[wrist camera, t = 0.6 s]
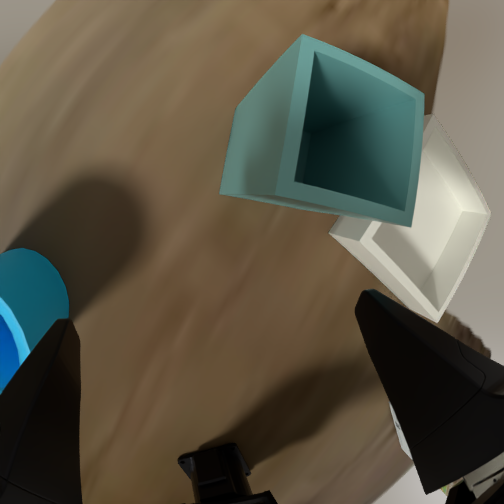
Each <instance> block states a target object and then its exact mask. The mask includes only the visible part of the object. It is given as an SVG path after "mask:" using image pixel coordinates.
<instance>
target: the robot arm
mask: <svg viewBox="0 0 504 504" xmlns="http://www.w3.org/2000/svg"><path fill="white" fill-rule="evenodd" d="M355 316H356V319H357V321H358V324H359V327H360V330H361V333H362V336H363V339H364V342H365V344H366V347H367V350H368V353H369V355H370V357H371V360H372V362H373V364H374V366H375V368H376V371H377V373H378V375H379V378H380V380H381V382H382V384H383V387H384V389H385V391H386V394H387V396H388V398H389V401H390V403H391V405H392V408H393V410H394V413H395V415H396V418H397V420H398V422H399V425H400V427H401V430H402V432H403V435H404V437H405V440H406V443H407V445H408V448H409V449H410V450H409V451H410V453H411V456H412V459H413V461H414V464H415V466H416V470H417V472H418V475H419V478H420V481H421V483H422V486H423V489H424V492H425V494H426V495H427V494H429V493H432V492H434V491H436V490H438V489H440V488H442V487H444V486H446V485H448V484H450V483H452V482H454V481H456V480H458V479H460V478H463V479H462V480H461V481H459V482H458V483H457V484H456V485H454V486H453V487H452V488H450V489H449V493H448V496H447V500H446V503H445V504H504V366H503V365H501V364H499V363H497V362H495V361H493V360H491V359H490V358H488V357H486V356H484V355H482V354H480V353H479V352H477V351H475V350H473V349H472V348H470V347H468V346H467V345H465V344H464V343H462V342H460V341H459V340H456V339H455V338H454V337H452V336H451V335H449V334H448V333H446V332H444V331H443V330H441V329H440V328H438V327H436V326H435V325H433V324H432V323H430V322H428V321H427V320H425V319H423V318H422V317H420V316H419V315H417V314H415V313H414V312H412V311H410V310H409V309H407V308H405V307H404V306H402V305H400V304H399V303H397V302H395V301H394V300H392V299H390V298H389V297H387V296H385V295H384V294H382V293H380V292H379V291H377V290H375V289H368V290H363V291H362V292H361V294H360V297H359V299H358V302H357V304H356V307H355ZM80 400H81V374H80V339H79V336H78V334H77V331H76V329H75V327H74V325H73V322H72V320H71V319H69V318H60V319H57V320H56V321H55V322H54V323H53V325H52V326H51V327H50V328H49V330H48V331H47V332H46V333H45V334H44V336H43V337H42V338H41V339H40V341H39V342H38V343H37V345H36V346H35V347H34V348H33V350H32V351H31V352H30V354H29V355H28V356H27V358H26V359H25V360H24V362H23V363H22V364H21V366H20V367H19V368H18V370H17V371H16V372H15V374H14V375H13V377H12V378H11V379H10V381H9V382H8V384H7V385H6V387H5V388H4V389H3V391H2V392H1V394H0V504H83V503H82V493H81V479H80V454H79V425H80ZM232 447H233V448H232ZM178 464H179V465H180V466H181V468H182V469H183V470H184V472H185V473H186V474H187V476H188V477H189V478H190V479H191V481H192V487H193V492H194V497H195V502H196V503H193V504H278V503H277V502H276V500H275V498H274V497H273V495H272V494H271V492H270V490H268V491H264V492H263V493H258V494H252V491H251V488H250V486H249V483H248V480H247V478H246V477H247V476H249V475H250V474H251V472H250V470H249V468H248V466H247V464H246V462H245V460H244V458H243V456H242V455H241V453H240V451H239V449H238V447H237V445H236V444H235V443H230V444H227V445H224V446H221V447H217V448H214V449H210V450H207V451H203V452H199V453H195V454H191V455H187V456H183V457H180V458H178ZM183 504H186V503H183Z"/></svg>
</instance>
